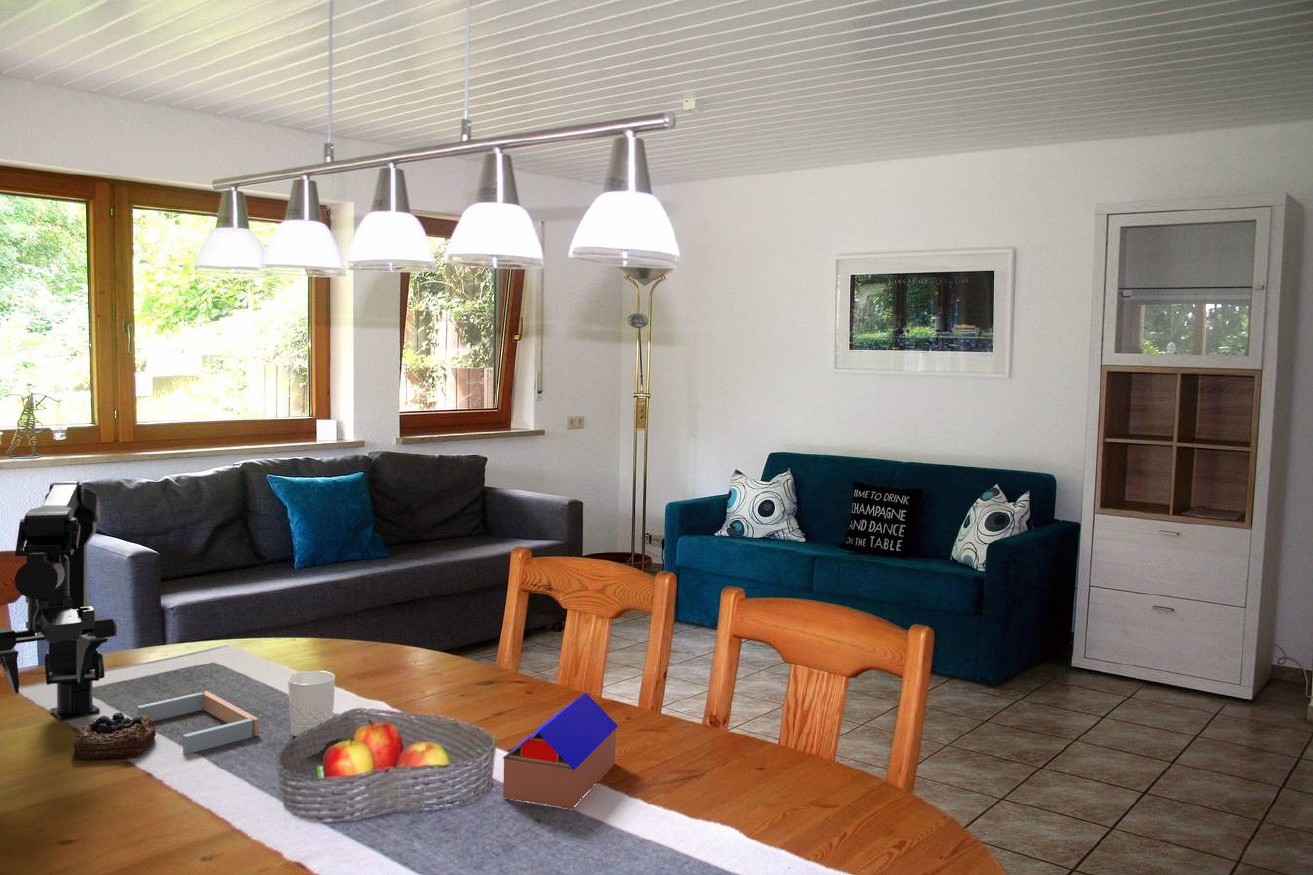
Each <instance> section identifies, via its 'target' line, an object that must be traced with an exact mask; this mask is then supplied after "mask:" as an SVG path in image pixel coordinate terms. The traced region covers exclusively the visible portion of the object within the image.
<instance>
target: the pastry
mask: <svg viewBox="0 0 1313 875" xmlns="http://www.w3.org/2000/svg"><path fill="white" fill-rule="evenodd" d="M155 722H156V721H155V720H154V719H152V718H151V716H140V717H137V716H135V717H133V718H129V717H125V716H124V714H123V713H122V712H115V713H114V714H113V715H112V718H111V717H109V716H107V715H102V716H100V717H99V718H97V719H94V720H93V721H91V722H90V723H88V724H86V725H83V726H82V727H81V731H80V732H79V733H78V734H77V736H76V738H75V739H74V741H73V749H74V752H73V753H74V757H75V758H74V759H75V761H78V760H79V761H82V762H83V761H113V760H125V759H126V760H131V759H135V758H139V757H140V756H142V755H143V754H144V753H145V752H147V751H146V750H149V749H150V747H151V746H152V745H153V743H154V742H155V738H156V735H157V732H156V726H157V725H156V724H155ZM148 748H149V749H148Z"/></svg>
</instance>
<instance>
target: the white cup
mask: <svg viewBox="0 0 1313 875" xmlns="http://www.w3.org/2000/svg"><path fill="white" fill-rule="evenodd" d="M287 681H288V682H287V684H288V686H287V687H288V707H289V718H290V726H291V727H290V728H291V731H290V732H291V735H292V736H293V737H294V736H296V735H298V734H300V733H302V732H304V731H306V730H308V729H311V728H313V727H315V726H317V725H319V724H320V723H322V722H325V721H326V720H329V719H331V718H332V719H333V716H334V712H333V711H334V703H335V702H334V701H335V684H336V682H335V681H336V674H334V673H332V672H330V671H325V670H310V671H309V670H308V671H302V672H297V673H294V674H292V675H290V676H289V677H288V679H287Z"/></svg>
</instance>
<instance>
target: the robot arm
mask: <svg viewBox="0 0 1313 875" xmlns="http://www.w3.org/2000/svg"><path fill="white" fill-rule="evenodd" d="M99 499H100V498H99V496H98V494H97V493H95V492H92V491H91V490H89V489H87V488H85V484H84V482H83V481H82V482H80V481H79V480H65V481H64V480H63V481H62V480H60V481H58V480H57V481H55V482H50V483H49V491H48V493H46V495H45V496H44V502H43V503H42V506H40V507H36V508H31V509H30V510H28V511H26V513H25V515H24V516H23V518H20V521H19V527H18V532H17V538H16V544H15V552H14V553H15V554H14V556H15V557H16V558H19V557H20V558H22V557H23V558H24V557H25V558H26V563H24V564H23V565H22V566H20V568H19V569H18V570H17V571H16V574H15V576H14V586H15V588H16V590H17V591H18V593H19V594H21V595H22V596H23V597H25V603H27V621H25V629H26V630H19V631H15V630H14V629H11V628H8V627H0V666H1V668H2V670H3V672H4V675H5V676H6V678H7V680H8V683H9V685H10V688H11V689H12V691H13V693H14V694H18V693H20V692H19V691H20V679H19V670H18V669H19V668H18V667H19V666H18V656H19V651H18V650H15V649H14V648H15V647H16V646H17V644H24V643H33V642H37V641H46V643H49V644H48V650H47V651H46V652H45V656H44V669H45V680H46V685H55V684H56V706H57V707H52V708H50V713H51V714H53V715H54V716H56V718H58V719H59V720H62V721H64V720H68V719H69V720H70V719H73V718H78V716H79V717H83V716H88V715H91V714H92V713H93V714H97V713H99V712H101V709H100V708H99V707H98V706H96V705H95V704H94V696H93V689H94V688H93V684H94V683H93V681H94V682H99V680H101V679H104V678H105V677H106V676H105V675H106V673H105V669H106V668H105V663H104V662H105V661H104V655H103V654H101V651H100V648H99V647H100V646H101V645H102V644H104V643H107V642H108V641H109V638H112V637H116V636H118V634H117V632H118V628H117V627H118V626H117V622H116V620H114V618H110V617H107V616H104V615H99V616H98V615H97V616H96V614H95V609H94V607H93V606H90V605H89V606H87V579H88V578H87V576H88V575H87V573H88V572H87V560H88V559H87V557H88V556H87V551H88V550H87V549H88V548H87V546H88V544H89V543H90V541H91V539H92V538H93V536H94V534H96V532H97V526H98V525H97V524H98V523H100V521H101V504H100V500H99ZM87 714H88V715H87ZM93 714H92V715H93Z"/></svg>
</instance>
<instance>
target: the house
mask: <svg viewBox="0 0 1313 875" xmlns="http://www.w3.org/2000/svg"><path fill="white" fill-rule="evenodd" d="M618 727H619V725H618V724H617V723H616V722H615V721H614V720H613V719H612V718H611V717H610V716H609V715H608V714H607V713H606V711H605V710H603V709H602V707H600V706H599V705H598V704H597V702H596V701H595V700H594V699H593V698H592V697H591V696H590V695H589V694H588V693H587V692H584V693H583V694H581V695H580V696H579V697H577V698H576V699H575V700H574V701H572V702H570V703H569V704H568V705H566V706H565V707H563V708H562V709H561V710H559V711H558V712H556V714H554V715H553V716H551V717H550V718H549V719H547V721H545V722H543V724H542V725H541V726H539V727H538V728H537V729H535V731H533V732H532V733H531V734H530V735H529V736H527V737H526V738H525V739H524V740H522V741H521V742H520V743H519V744H518V745H516V746H515V747H514V748H513V749H511V750H510V751H509V752H508V753H507V754H505V755H504V756H503V757H502V759H503V784H502V785H503V787H502V788H503V789H502V790H503V791H502V792H503V795H502V796H503V797H502V799H503V798H507V799H513V800H521V801H529V802H535V803H540V804H541V803H542V804H547V805H551V806H558V807H562V808H568V809H573V808H574V806H575V805H576V804H577V803H578V802H579V801H580V799H582V797H583V796H584V795H585V794H586V793H587V792H588V791H589V790H590V789H591V788H592V787H593V786H594V784H596V783H597V782H598V781H599V782H600V781H601V780H602V778H604V777H605V775H606V774H608V772H609V771H610V770H611V768H613V767H614V766H615V764H616V742H617V740H616V739H617V738H616V734H617V730H618ZM599 782H598V783H599ZM598 783H597V784H598ZM597 784H596V785H597ZM594 787H595V786H594ZM594 787H593V788H594ZM593 788H592V789H593ZM592 789H591V790H592ZM582 800H583V799H582ZM574 809H575V808H574ZM574 809H573V810H574Z"/></svg>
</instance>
